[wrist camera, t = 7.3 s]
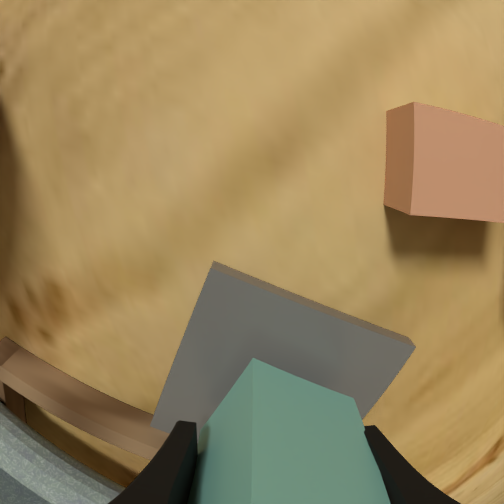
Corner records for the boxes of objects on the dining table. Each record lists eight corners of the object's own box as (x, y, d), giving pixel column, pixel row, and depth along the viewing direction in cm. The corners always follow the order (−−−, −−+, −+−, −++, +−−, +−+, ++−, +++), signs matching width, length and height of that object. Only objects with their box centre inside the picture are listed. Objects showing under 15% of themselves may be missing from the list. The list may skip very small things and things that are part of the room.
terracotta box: (482, 132, 10) (519, 131, 8) (478, 212, 11) (515, 223, 9) (383, 111, 10) (413, 101, 8) (381, 203, 11) (410, 215, 9)
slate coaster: (408, 337, 13) (415, 347, 12) (311, 462, 15) (313, 472, 14) (213, 260, 12) (210, 267, 11) (152, 417, 14) (148, 428, 13)
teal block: (353, 398, 11) (397, 524, 5) (291, 460, 12) (301, 572, 7) (253, 357, 11) (251, 511, 5) (200, 430, 12) (178, 554, 6)
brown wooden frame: (213, 436, 14) (209, 465, 12) (137, 552, 21) (134, 565, 19) (5, 336, 13) (-16, 354, 11) (36, 507, 20) (31, 519, 18)
